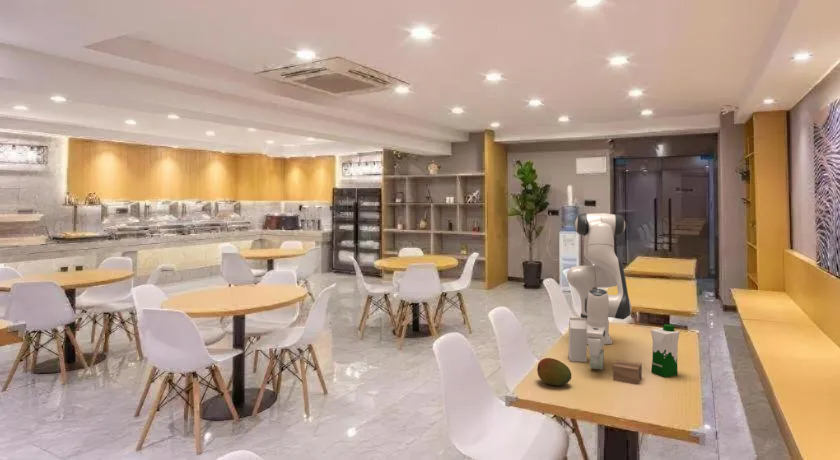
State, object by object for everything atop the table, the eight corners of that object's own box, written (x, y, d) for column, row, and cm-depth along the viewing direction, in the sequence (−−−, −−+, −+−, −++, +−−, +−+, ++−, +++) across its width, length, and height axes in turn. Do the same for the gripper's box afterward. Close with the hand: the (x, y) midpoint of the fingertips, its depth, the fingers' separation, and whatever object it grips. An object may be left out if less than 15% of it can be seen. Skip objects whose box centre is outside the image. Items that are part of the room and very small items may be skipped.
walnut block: (617, 374, 200) (618, 359, 200) (641, 378, 195) (641, 363, 195) (613, 380, 193) (613, 365, 192) (637, 384, 188) (637, 369, 187)
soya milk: (681, 375, 197) (682, 327, 197) (665, 378, 194) (666, 329, 193) (662, 369, 205) (663, 322, 205) (647, 372, 202) (648, 324, 201)
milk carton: (586, 362, 215) (587, 319, 214) (570, 361, 216) (570, 319, 216) (584, 357, 222) (585, 316, 221) (568, 356, 223) (568, 315, 222)
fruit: (534, 378, 194) (534, 354, 194) (566, 379, 194) (566, 354, 194) (541, 389, 183) (541, 363, 182) (574, 389, 182) (575, 363, 182)
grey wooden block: (591, 364, 208) (591, 347, 207) (604, 365, 206) (604, 349, 205) (589, 367, 203) (589, 351, 203) (602, 369, 201) (602, 352, 200)
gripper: (593, 321, 214) (592, 352, 215) (585, 333, 196) (585, 366, 197) (608, 323, 211) (607, 354, 212) (602, 335, 193) (601, 369, 194)
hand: (597, 360), depth 204 cm, fingers closed on grey wooden block, 5 cm apart
